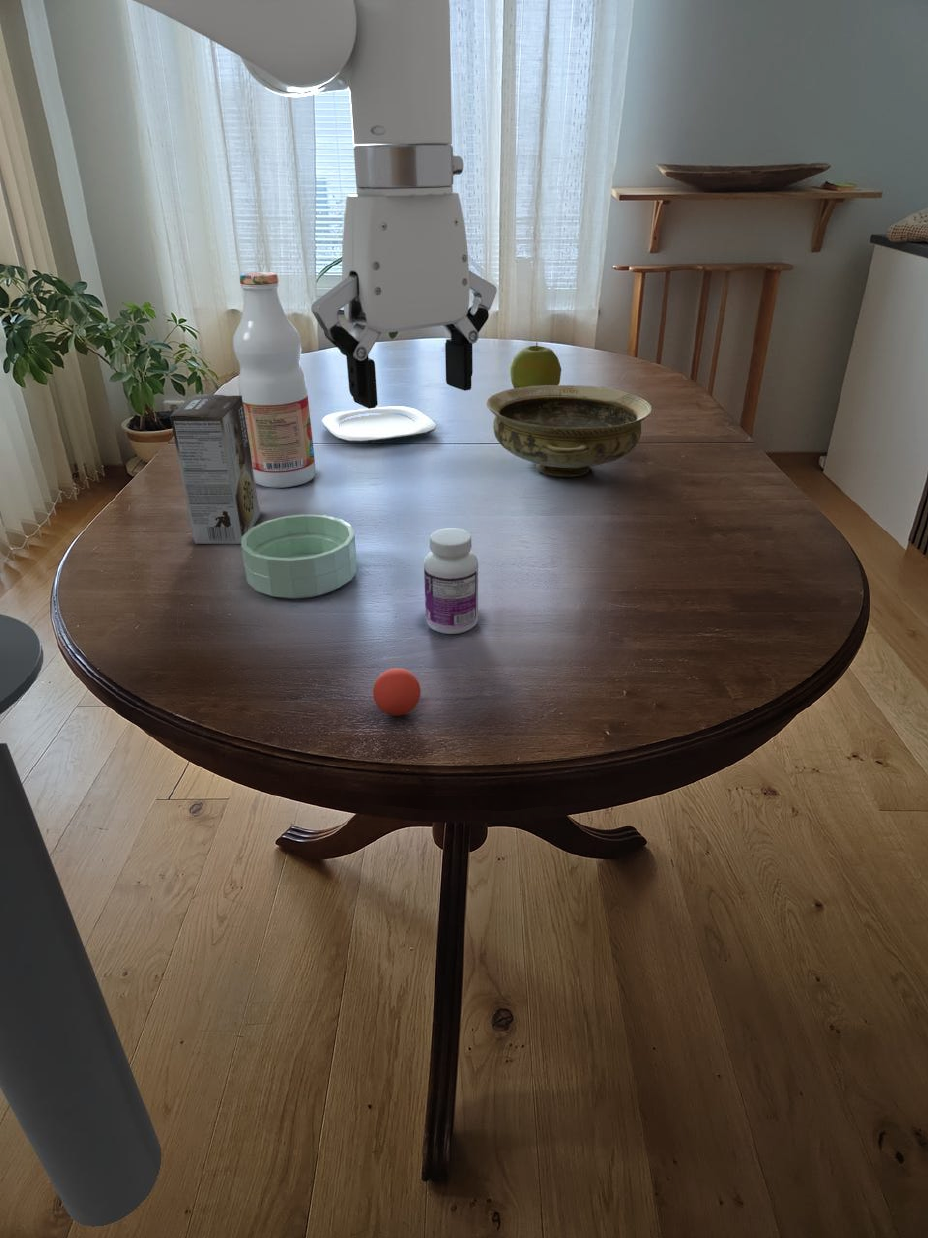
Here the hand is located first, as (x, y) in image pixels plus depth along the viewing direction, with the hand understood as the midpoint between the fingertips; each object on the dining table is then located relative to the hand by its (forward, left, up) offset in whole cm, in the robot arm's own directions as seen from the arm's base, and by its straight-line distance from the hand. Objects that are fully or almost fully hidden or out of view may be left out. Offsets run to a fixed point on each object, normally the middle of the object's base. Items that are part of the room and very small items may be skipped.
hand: (413, 395), depth 70 cm
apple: (+82, +29, -23) cm, 90 cm away
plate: (+50, +43, -23) cm, 70 cm away
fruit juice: (+24, +41, -23) cm, 53 cm away
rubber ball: (-14, -7, -21) cm, 26 cm away
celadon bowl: (+1, +17, -23) cm, 28 cm away
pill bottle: (+1, -3, -23) cm, 23 cm away
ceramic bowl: (+49, +7, -23) cm, 54 cm away
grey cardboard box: (+6, +34, -23) cm, 41 cm away
